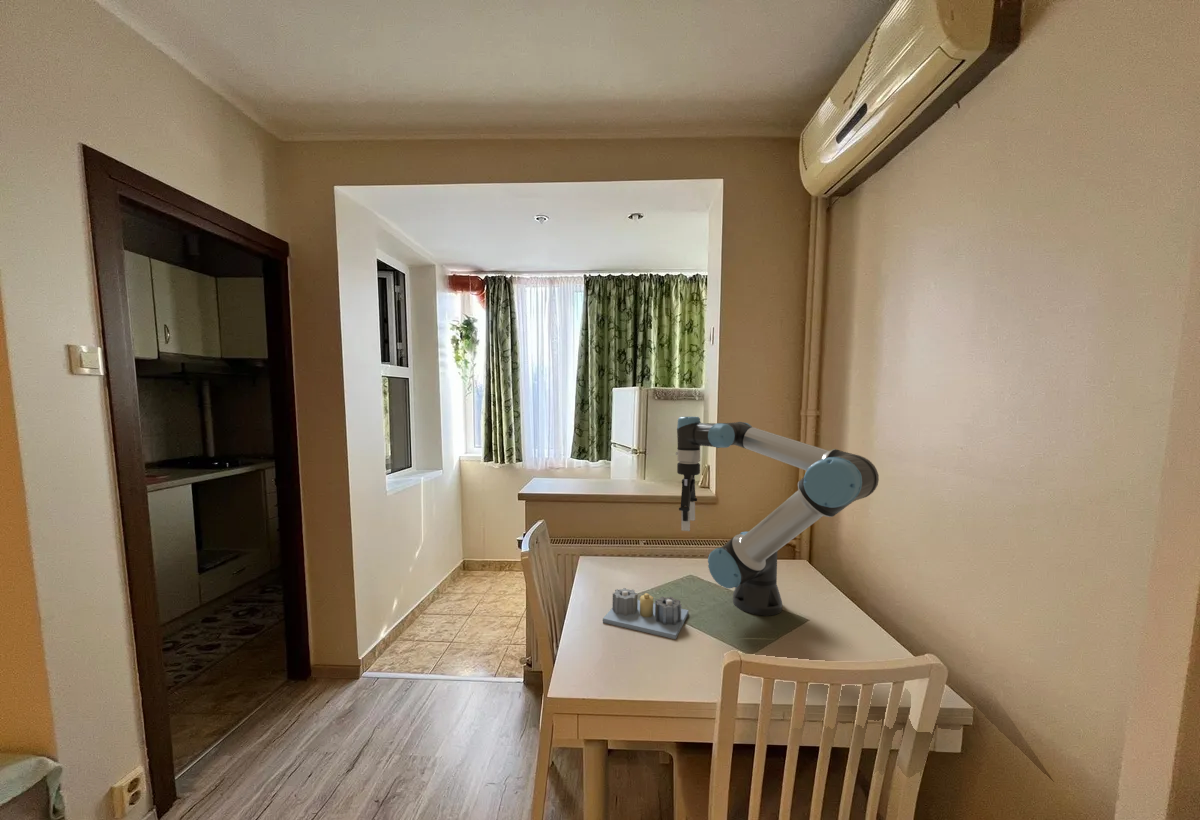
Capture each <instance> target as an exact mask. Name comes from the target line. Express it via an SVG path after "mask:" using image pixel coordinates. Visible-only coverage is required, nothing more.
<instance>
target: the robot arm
mask: <svg viewBox="0 0 1200 820" xmlns="http://www.w3.org/2000/svg"><path fill="white" fill-rule="evenodd" d="M676 434H677V436H676V437H677V451H676V452H675V455H676V456H677V462H678V463H677V465H676V468H677V469H676V473H677V474H678V475H680V476H681V475H682V476H683V479H682V480H681V495H680V496H681V497H680V507H678V511H680V516H681V517H680V519H681V523H680V526H681V527H680V528H681V529H680V530H681V532H690V531H691V521H696V502H698V498H697V496H696V479H695V477H696V476H697V475H698V476H699V475H700V473H701V464H700V461H701V447H702V446H703V447H712V448H717V449H720V448H721V449H724V448H730V447H731V446H738V448H739V447H740V448H743V449H746V450H748V451H752V452H754V453H757V454H759V455H762V456H765V457H768V458H770V459H774V460H775V461H779V462H781V463H783V464H788V465H790V466H792V467H795V468H798V469H800V470H804V471H805V474H804V475H803V477H802V478H801V479H800V480H799V481H798V482H797V490H796V491H795V492H794V493H793V494H792V495H791V496H789V497H788V498H787V499H786V500H784V502H782V503H781V504H780V505H778V507H776V508H775V509H774V510H773V511H771V512H770V513H769V514H768V515H767V516H765V518H763V519H762V520H760V521H759V522H758V523H757V524H756V525H755V526H753V528H751V529H750V530H749V531H741V532H740V533H739V534H736V535H735V536H733V537H732V538H731V539H730V540H728V541H727V542H726V543H724V545H722V546H720V547H716V548H715V549H713V550H712V551H710V552H709V554H708V558H707V563H708V566H707V567H708V570H709V573H710V575H711V577H712V578H713V580H714V582H716V583H717V584H718V585H719V586H721V587H723V588H725V589H733V588H734V590H733V594H732V603H733V605H734V606H735V607H736V608H737V609H739V610H741V611H743V612H745V613H749V614H751V615H757V616H763V617H764V616H765V617H766V616H775V615H777V614H780V613H781V612H782V610H783V600H782V597H781V594H780V590H779V587H778V584H777V582H778V581H777V580H778V577H777V576H778V575H777V574H778V551H779V550H780V549H782V548H783V547H784V546H786V545H787V544H788V543H790V542H791V541H792V540H793V539H795V538H796V537H798V536H799V535H800V534H802V532H804V531H805V530H806V529H808V528H809V527H811V526H812V525H813V524H815V523H816V522H817V521H819V520H820V519H821V518H822V517H828V518H833V517H835V516H836V515H837V514H839V513H840V512H842V511H843V510H844V509H845V508H847V507H849V505H850V506H851V504H853V503H854V502H856V501H858V500H861V499H864V498H867V497H869V496H870V495H872V494H873V493H874V492H875V490H877V487H878V485H879V481H880V480H879V473H878V470H877V468H876V466H875V465H874V464H873V463H872V461H870V460H869V459H868V458H866V457H864V456H862V455H860V454H856V453H851V452H848V451H847V452H846V451H842V450H839V449H837V448H834V449H831V450H827V449H824V448H821V447H818V446H815V445H811V444H808V443H806V442H805V443H804V442H802V441H798V440H795V439H792V438H789V437H785V436H783V435H779V434H776V433H773V432H769V431H767V430H763V429H761V428H758V427H754V426H752V425H751V424H749V423H748V422H742V421H735V422H717V423H714V422H713V423H712V422H710V423H708V422H707V423H706V422H704V423H703V422H701V418H700V416H679V417H678V418H677V428H676Z"/></svg>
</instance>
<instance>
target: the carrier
mask: <svg viewBox="0 0 1200 820" xmlns="http://www.w3.org/2000/svg"><path fill="white" fill-rule="evenodd" d="M638 594H639V593H638V592H635V590H634V589H632V588H631V589H630V588H629V589H627V588H625V587H623V588H620V589H618V588H616V589H615V590H614V592H612V607H611V609H610V610H608V612H607V613H606V614H605V615H604V617H603V618H602V623H604V624H609V625H612V626H615V627H616V626H617V627H621V628H625V629H629V630H634V631H636V632H637V631H638V632H642V633H647V634H651V635H654V636H658V637H659V636H660V637H664V638H667V639H672V640H676V639H677V637H678V636H679V634H680V632H681V630H682V628H683V625H684V624H685V621H686V619H687V618H688V615H689V609H686V608H685V609H684V608H681V622H678V623H676V625H672V624H667V625H663V623H661V622H657V621H656V617H655V602H654V597H653V596H652V595H650V594H649V593H644V594H642V595H640V597H638ZM638 598H639V599H638ZM666 605H672V600H670V599H667V600H666Z"/></svg>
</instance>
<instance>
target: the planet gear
mask: <svg viewBox="0 0 1200 820" xmlns="http://www.w3.org/2000/svg"><path fill="white" fill-rule="evenodd" d="M667 599H670V600H672V605H666V600H667ZM654 601H655V602H654V603H655V617H656V621H657V622H661V623H663V625H667V624H672V625H676V623H678V622H681V609H682V604H681V599H676V598H674V597H673V596H669V597H668V596H667V597H666V596H665V597H664V596H660V598H657V599H655V600H654Z"/></svg>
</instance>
